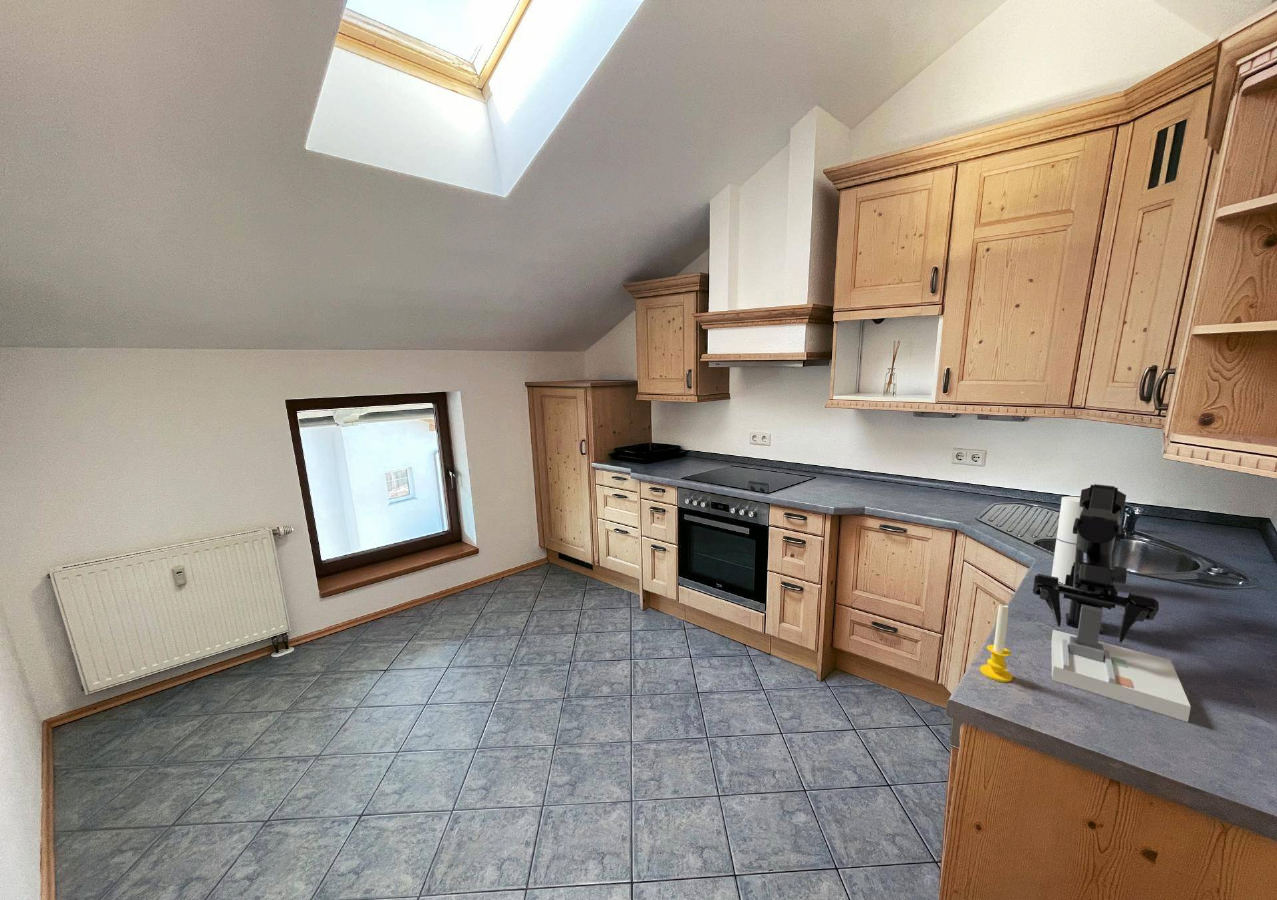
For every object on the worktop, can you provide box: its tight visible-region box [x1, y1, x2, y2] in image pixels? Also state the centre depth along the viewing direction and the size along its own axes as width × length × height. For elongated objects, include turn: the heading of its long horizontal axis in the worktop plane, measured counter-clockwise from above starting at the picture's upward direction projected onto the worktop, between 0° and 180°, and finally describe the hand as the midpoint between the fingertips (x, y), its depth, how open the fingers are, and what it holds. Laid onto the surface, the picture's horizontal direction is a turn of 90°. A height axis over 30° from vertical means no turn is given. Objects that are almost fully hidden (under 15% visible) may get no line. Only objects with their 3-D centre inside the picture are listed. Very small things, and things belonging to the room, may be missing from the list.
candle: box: [979, 604, 1013, 683], centre depth 95 cm, size 5×5×16 cm
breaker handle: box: [1069, 604, 1104, 662], centre depth 97 cm, size 4×5×10 cm
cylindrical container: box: [1051, 496, 1083, 585], centre depth 137 cm, size 7×7×25 cm
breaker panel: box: [1050, 629, 1191, 723], centre depth 94 cm, size 18×18×4 cm
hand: (1088, 633), depth 96 cm, fingers open, 9 cm apart
